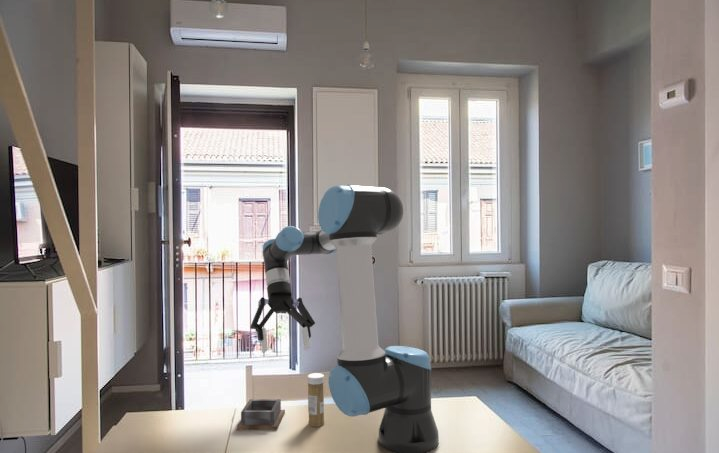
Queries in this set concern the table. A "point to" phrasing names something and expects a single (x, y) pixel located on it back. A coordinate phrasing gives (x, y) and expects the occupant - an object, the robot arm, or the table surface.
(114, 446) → the table surface
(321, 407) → the sprinkles bottle
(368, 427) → the table surface
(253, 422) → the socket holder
